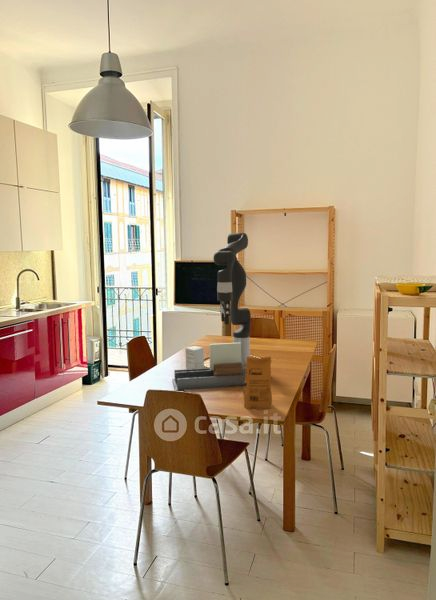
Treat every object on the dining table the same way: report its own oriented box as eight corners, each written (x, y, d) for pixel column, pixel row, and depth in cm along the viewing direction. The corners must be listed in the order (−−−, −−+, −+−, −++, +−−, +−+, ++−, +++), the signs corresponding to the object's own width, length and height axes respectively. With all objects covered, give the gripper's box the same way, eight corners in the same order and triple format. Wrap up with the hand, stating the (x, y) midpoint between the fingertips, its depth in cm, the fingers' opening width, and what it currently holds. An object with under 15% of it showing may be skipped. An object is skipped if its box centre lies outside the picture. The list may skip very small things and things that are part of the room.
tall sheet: (209, 378, 245) (209, 343, 243) (240, 376, 248) (240, 342, 245) (210, 379, 244) (210, 344, 241) (241, 377, 246) (241, 343, 244)
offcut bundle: (213, 381, 240) (213, 363, 239) (240, 379, 243) (240, 362, 241) (215, 384, 234) (215, 367, 233) (243, 383, 237) (243, 365, 236)
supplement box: (195, 367, 271) (195, 345, 270) (204, 369, 266) (203, 347, 264) (185, 369, 266) (185, 347, 265) (194, 372, 261) (193, 349, 259)
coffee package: (243, 401, 215) (243, 353, 212) (271, 401, 215) (271, 353, 212) (243, 409, 206) (242, 359, 203) (272, 409, 205) (272, 359, 202)
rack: (172, 381, 245) (172, 369, 244) (244, 377, 252) (244, 365, 251) (175, 393, 227) (175, 380, 226) (253, 388, 233) (253, 375, 232)
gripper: (215, 289, 246) (215, 320, 248) (219, 292, 232) (220, 325, 234) (229, 289, 247) (229, 320, 250) (234, 292, 233) (235, 325, 236)
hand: (225, 322), depth 242 cm, fingers open, 8 cm apart
